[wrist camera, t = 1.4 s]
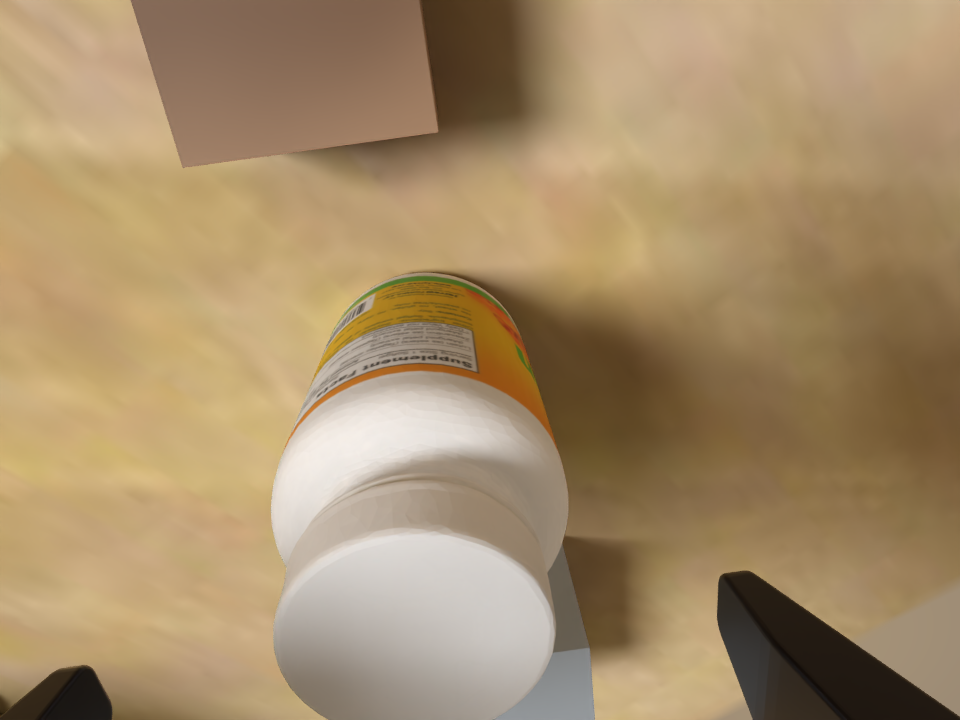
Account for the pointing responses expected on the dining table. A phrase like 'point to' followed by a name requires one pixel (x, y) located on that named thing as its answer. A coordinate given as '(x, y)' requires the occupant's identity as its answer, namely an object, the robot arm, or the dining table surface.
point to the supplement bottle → (419, 512)
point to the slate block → (561, 661)
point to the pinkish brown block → (287, 74)
